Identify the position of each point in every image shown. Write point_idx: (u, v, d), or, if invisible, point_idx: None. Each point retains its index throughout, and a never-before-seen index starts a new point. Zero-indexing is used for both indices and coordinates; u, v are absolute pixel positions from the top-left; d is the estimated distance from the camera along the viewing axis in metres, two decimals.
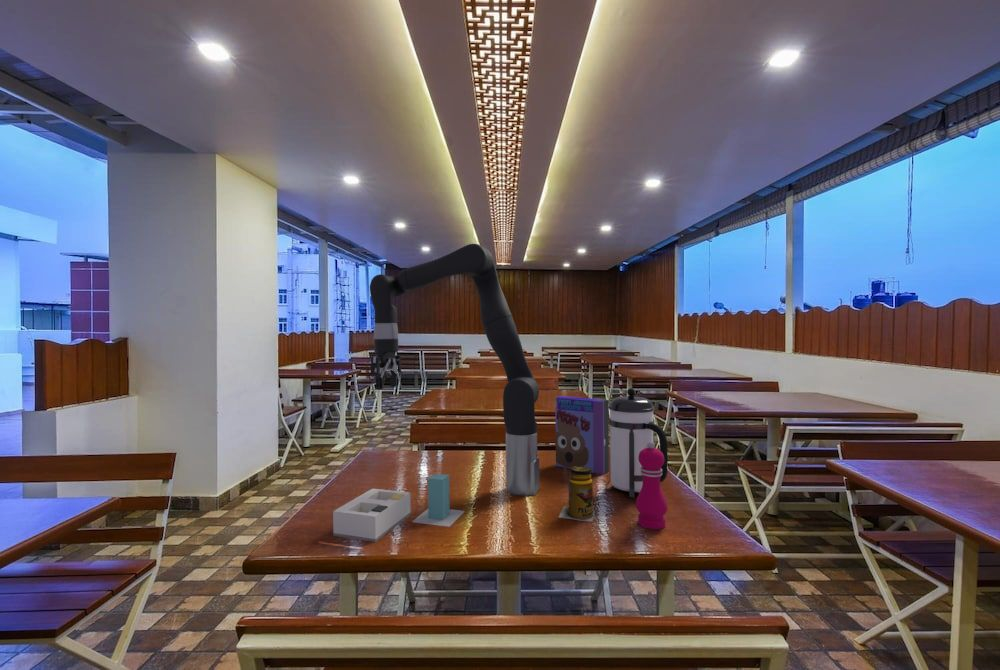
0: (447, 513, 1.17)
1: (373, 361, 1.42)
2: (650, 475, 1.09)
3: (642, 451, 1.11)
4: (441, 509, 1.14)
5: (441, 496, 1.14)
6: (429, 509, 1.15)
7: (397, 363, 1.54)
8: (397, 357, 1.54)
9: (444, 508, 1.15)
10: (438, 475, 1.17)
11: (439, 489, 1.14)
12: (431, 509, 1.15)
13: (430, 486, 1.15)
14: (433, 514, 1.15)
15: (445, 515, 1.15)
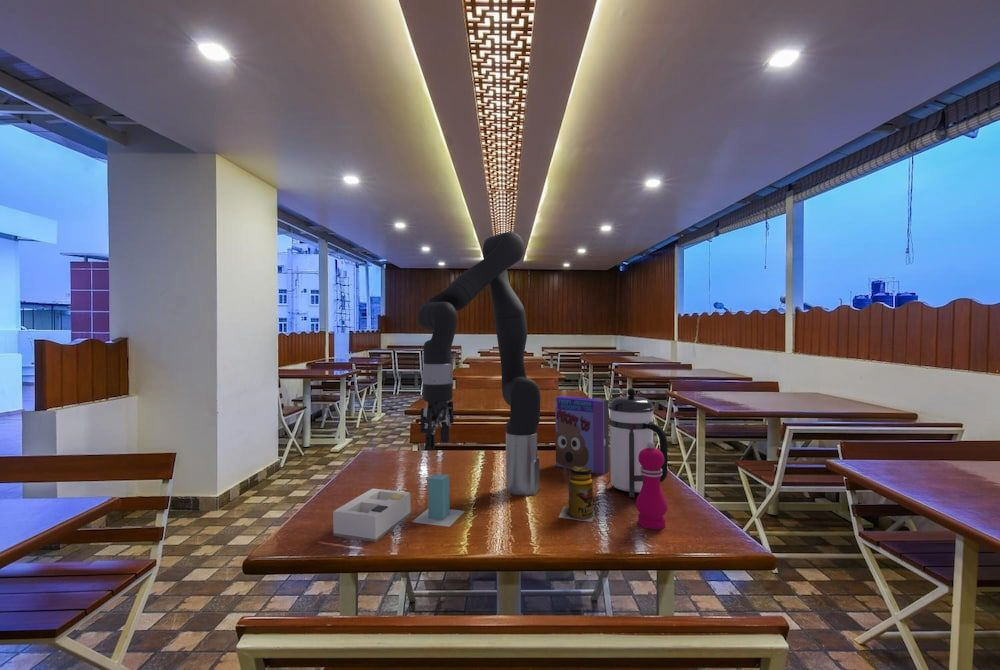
0: (447, 513, 1.17)
1: (423, 414, 1.10)
2: (650, 475, 1.09)
3: (642, 451, 1.11)
4: (441, 509, 1.14)
5: (441, 496, 1.14)
6: (429, 509, 1.15)
7: (449, 412, 1.22)
8: (449, 404, 1.22)
9: (444, 508, 1.15)
10: (438, 475, 1.17)
11: (439, 489, 1.14)
12: (431, 509, 1.15)
13: (430, 486, 1.15)
14: (433, 514, 1.15)
15: (445, 515, 1.15)
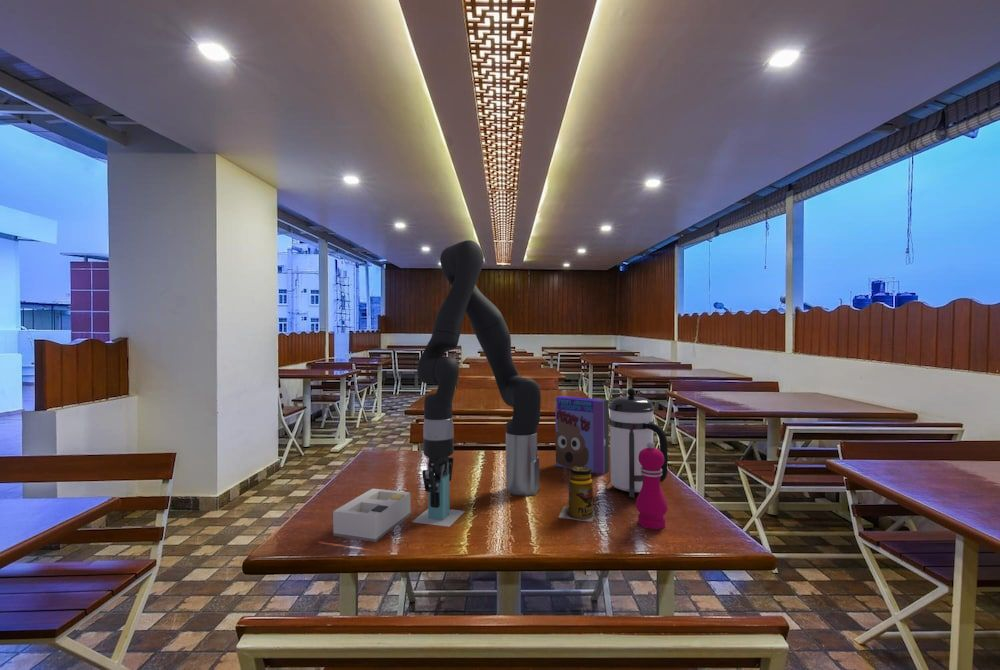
0: (447, 513, 1.17)
1: (425, 477, 1.11)
2: (650, 475, 1.09)
3: (642, 451, 1.11)
4: (441, 509, 1.14)
5: (441, 496, 1.14)
6: (429, 509, 1.15)
7: (448, 468, 1.21)
8: (450, 460, 1.21)
9: (444, 508, 1.15)
10: None
11: None
12: (431, 509, 1.15)
13: None
14: (433, 514, 1.15)
15: (445, 515, 1.15)
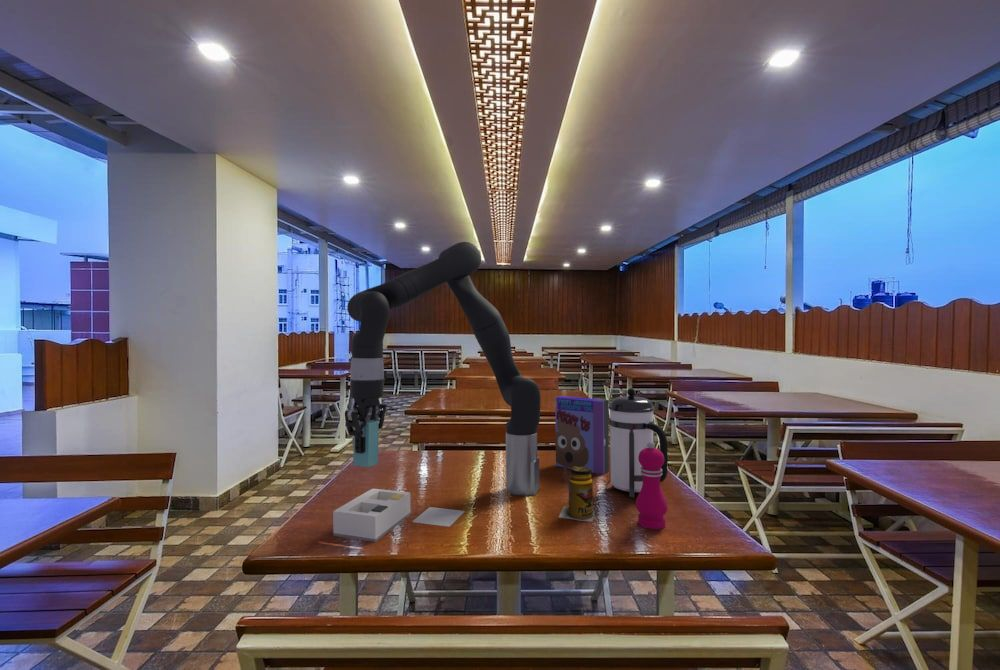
0: (374, 461, 1.08)
1: (348, 418, 1.02)
2: (650, 475, 1.09)
3: (642, 451, 1.11)
4: (366, 455, 1.06)
5: (366, 441, 1.06)
6: (354, 455, 1.07)
7: (380, 415, 1.13)
8: (382, 406, 1.13)
9: (371, 455, 1.07)
10: None
11: (365, 434, 1.06)
12: (356, 455, 1.07)
13: None
14: (358, 461, 1.07)
15: (371, 462, 1.07)
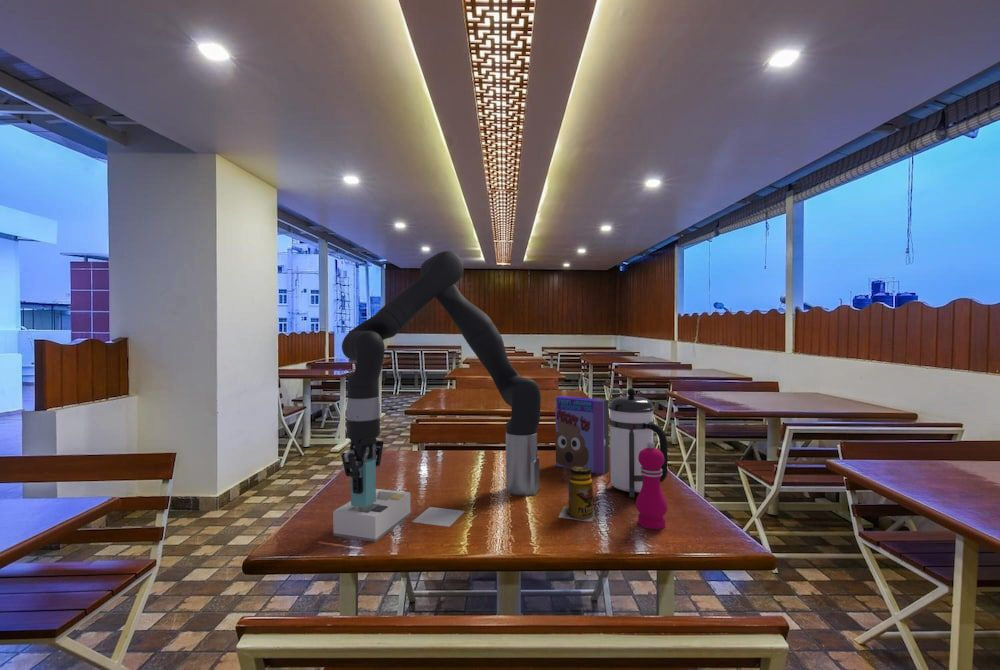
0: (372, 500, 1.08)
1: (345, 460, 1.02)
2: (650, 475, 1.09)
3: (642, 451, 1.11)
4: (364, 495, 1.06)
5: (364, 481, 1.06)
6: (352, 495, 1.07)
7: (377, 452, 1.12)
8: (379, 444, 1.13)
9: (368, 494, 1.07)
10: None
11: None
12: (354, 495, 1.06)
13: None
14: (356, 501, 1.06)
15: (369, 502, 1.07)
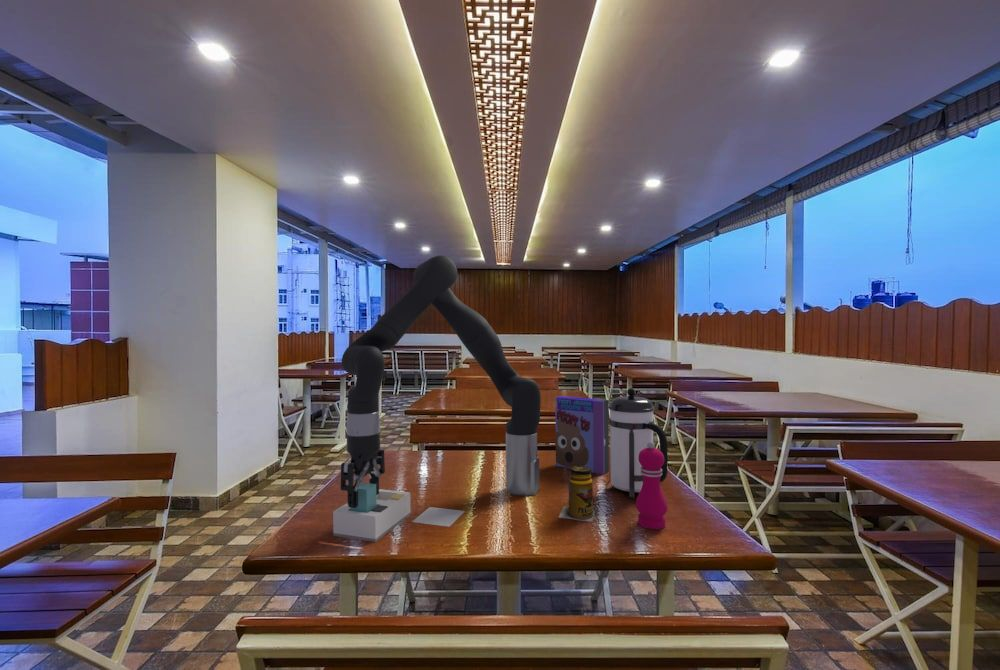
0: None
1: (343, 470, 1.02)
2: (650, 475, 1.09)
3: (642, 451, 1.11)
4: None
5: (365, 507, 1.06)
6: None
7: (379, 461, 1.13)
8: (379, 453, 1.13)
9: None
10: (364, 484, 1.09)
11: (363, 500, 1.06)
12: None
13: None
14: None
15: None
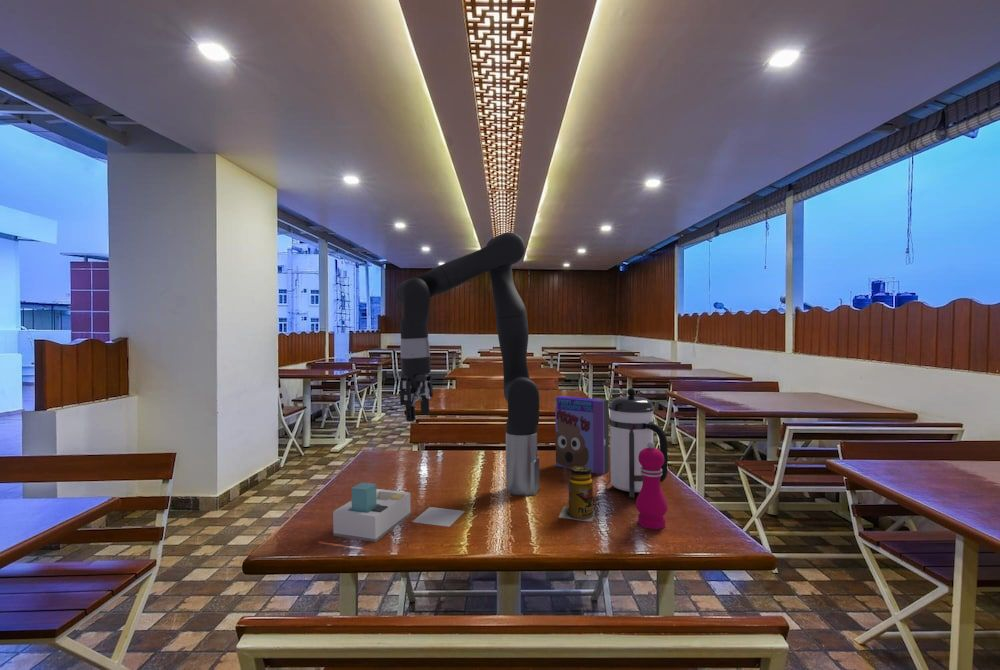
0: None
1: (402, 386, 1.14)
2: (650, 475, 1.09)
3: (642, 451, 1.11)
4: None
5: (365, 507, 1.06)
6: None
7: (428, 386, 1.26)
8: (428, 378, 1.26)
9: None
10: (364, 484, 1.09)
11: (363, 500, 1.06)
12: None
13: (354, 496, 1.06)
14: None
15: None
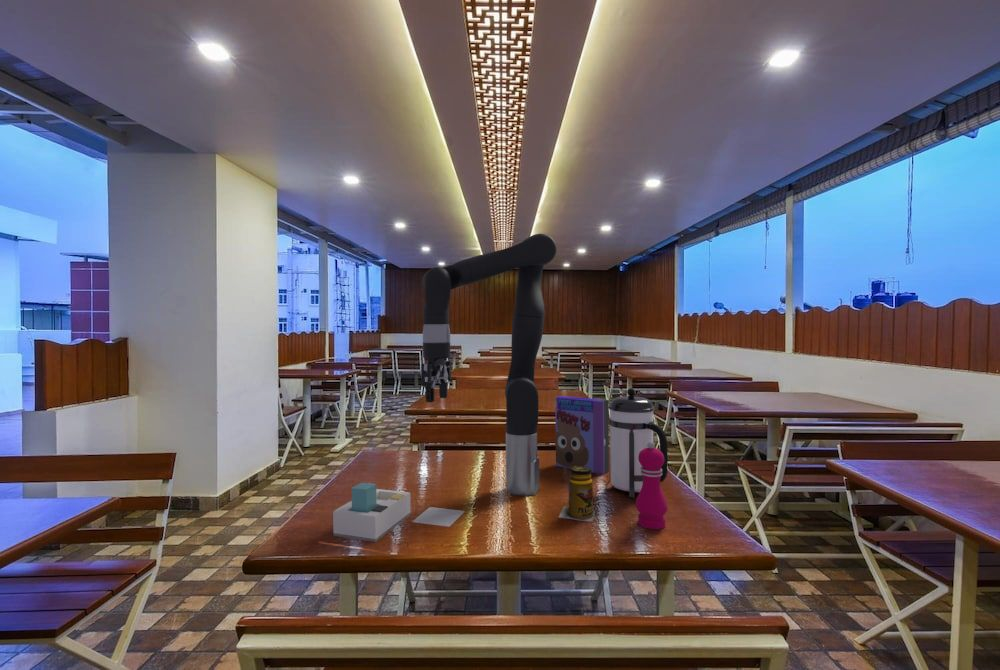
0: None
1: (423, 369, 1.21)
2: (650, 475, 1.09)
3: (642, 451, 1.11)
4: None
5: (365, 507, 1.06)
6: None
7: (447, 370, 1.33)
8: (447, 363, 1.32)
9: None
10: (364, 484, 1.09)
11: (363, 500, 1.06)
12: None
13: (354, 496, 1.06)
14: None
15: None
